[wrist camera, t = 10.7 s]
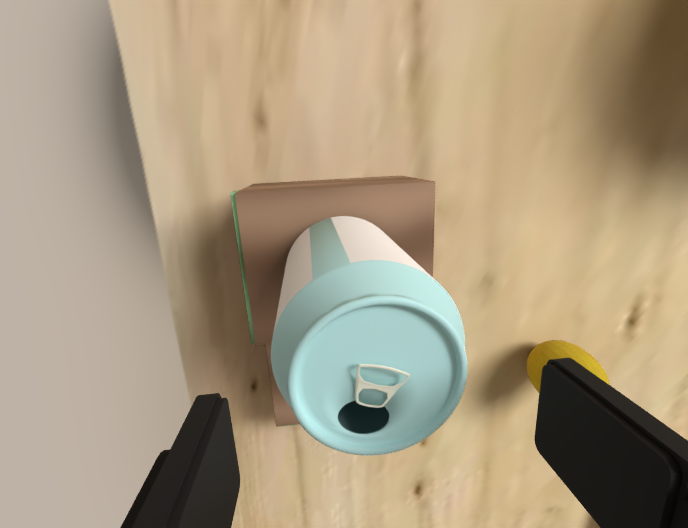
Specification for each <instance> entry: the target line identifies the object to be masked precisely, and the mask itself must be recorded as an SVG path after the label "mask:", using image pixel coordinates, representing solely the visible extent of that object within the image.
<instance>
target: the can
mask: <svg viewBox="0 0 688 528" xmlns="http://www.w3.org/2000/svg"><path fill="white" fill-rule="evenodd" d="M271 364H272V371H273V374H274V378H275V381H276V383H277V386H278V388H279V390H280V392H281V394H282V396H283V397H284V399H285V400H286V402H287V403H288V404H289V406H290V407H291V408H292V411H293V413H294V415H295V417H296V418H297V420H298V421H299V423H300V424H301V426H302V427H303V428H304V429H305V430H306V431H307V432H308V433H309V434H310V435H311V436H312V437H314V438H315V439H316V440H318V441H319V442H321V443H322V444H324V445H326V446H328V447H330V448H332V449H335V450H338V451H341V452H345V453H349V454H355V455H381V454H388V453H392V452H396V451H400V450H403V449H405V448H408V447H410V446H413V445H415V444H417V443H419V442H420V441H422V440H424V439H425V438H427V437H428V436H430V435H431V434H432V433H434V432H435V431H436V430H437V429H438V428H439V427H440V426H442V425H443V424H444V422H445V421H446V420H447V419H448V418H449V417H450V415H451V414H452V413H453V411H454V410H455V408H456V406H457V405H458V403H459V401H460V399H461V396H462V394H463V391H464V388H465V384H466V378H467V357H466V352H465V333H464V328H463V323H462V320H461V316H460V313H459V311H458V309H457V306H456V305H455V303H454V301H453V299H452V298H451V297H450V295H449V294H448V292H447V291H446V290H445V289H444V288H443V287H442V286H441V285H440V284H439V283H438V282H437V281H436V280H435V279H434V278H433V277H432V276H430V275H429V274H428V273H427V272H426V271H425V270H424V269H423V268H422V267H421V266H420V265H419V264H417V263H416V262H415V261H414V260H413V259H412V258H411V257H410V256H409V255H408V254H407V253H406V252H405V251H403V250H402V249H401V248H400V247H399V246H398V245H397V244H396V243H395V242H394V241H393V240H392V239H390V238H389V237H388V236H387V235H386V234H385V233H384V232H383V231H382V230H381V229H380V228H378V227H377V226H375V225H374V224H372V223H370V222H368V221H366V220H363V219H360V218H356V217H350V216H337V217H331V218H327V219H324V220H322V221H319V222H317V223H315V224H313V225H312V226H310V227H309V228H307V229H306V230H305V231H304V232H303V233H302V234H301V235H300V236H299V237H298V238H297V239H296V241H295V242H294V244H293V246H292V247H291V249H290V252H289V254H288V257H287V261H286V267H285V272H284V278H283V283H282V289H281V294H280V300H279V305H278V311H277V316H276V322H275V327H274V333H273V338H272V344H271Z"/></svg>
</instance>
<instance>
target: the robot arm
mask: <svg viewBox="0 0 688 528" xmlns="http://www.w3.org/2000/svg"><path fill="white" fill-rule="evenodd" d="M535 444H536V447H537V450H538V451H539V453H540V454H541V455H542V457H543V458H544V459H545V460H546V461H547V463H548V464H549V465H550V466H551V468H552V469H553V470H554V471H555V472H556V474H557V475H558V476H559V477H560V479H561V480H562V481H563V482H564V483H565V485H566V486H567V487H568V488H569V490H570V491H571V492H572V493H573V494H574V496H575V497H576V498H577V499H578V501H579V502H580V503H581V504H582V505H583V507H584V508H585V509H586V510H587V512H588V513H589V514H590V515H591V516H592V518H593V519H594V520H595V521H596V523H597V524H598V525H599V526H600V527H601V528H688V441H687V440H686V439H684V438H683V437H682V436H680V435H679V434H677V433H676V432H675V431H673V430H672V429H670V428H669V427H668V426H666V425H665V424H663V423H662V422H661V421H659V420H658V419H656V418H655V417H654V416H652V415H651V414H649V413H648V412H647V411H645V410H644V409H642V408H641V407H639V406H638V405H637V404H635V403H634V402H632V401H631V400H630V399H628V398H627V397H625V396H624V395H623V394H621V393H620V392H618V391H617V390H616V389H614V388H613V387H611V386H610V385H609V384H607V383H606V382H604V381H603V380H602V379H600V378H599V377H597V376H596V375H595V374H593V373H592V372H590V371H589V370H588V369H586V368H585V367H583V366H582V365H581V364H579V363H578V362H576V361H575V360H574V359H572V358H559V359H550V360H548V362H547V364H546V365H544V366H543V368H542V375H541V385H540V394H539V403H538V412H537V421H536V431H535ZM239 488H240V473H239V467H238V461H237V454H236V448H235V442H234V436H233V429H232V423H231V417H230V410H229V404H228V400H227V398H221V396H220V394H219V393H216V394H206V395H198V396H197V397H196V399H195V401H194V403H193V405H192V407H191V409H190V411H189V413H188V415H187V417H186V419H185V421H184V423H183V425H182V427H181V429H180V431H179V433H178V435H177V437H176V439H175V441H174V444H173V445H172V447H171V449H170V450H164V451H163V452H161V453H160V455H159V456H158V458H157V459H156V461H155V463H154V465H153V467H152V469H151V471H150V473H149V475H148V477H147V478H146V480H145V482H144V484H143V486H142V488H141V490H140V492H139V494H138V495H137V497H136V500H135V501H134V503H133V505H132V507H131V509H130V511H129V513H128V514H127V516H126V518H125V520H124V522H123V524H122V526H121V528H231V525H232V521H233V516H234V511H235V507H236V502H237V498H238V493H239Z"/></svg>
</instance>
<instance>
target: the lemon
mask: <svg viewBox="0 0 688 528" xmlns="http://www.w3.org/2000/svg"><path fill="white" fill-rule="evenodd" d="M559 358H572V359H574V360H575V361H576V362H578V363H579V364H581V365H582V366H583V367H585V368H586V369H588V370H589V371H590V372H592V373H593V374H595V375H596V376H597V377H599V378H600V379H602V380H603V381H604V382H606V383H607V384H609V380H608V377H607V374H606V372H605V371H604V369H603V368H602V367H601V365H600V364H599V363H598V362H597V361H596V359H595V358H594V357H592V356H591V355H590V354H589V353H587V352H586V351H585V350H583V349H582V348H580V347H578V346H576V345H574V344H571V343H568V342H565V341H557V340H552V341H546V342H543V343H541V344H539V345H537V346H536V347H535V348H534V349H533V350H532V351H531V353H530V354H529V356H528V359H527V372H528V376H529V379H530V381H531V382H532V384H533V385H534V387H535V388H536V390H537V391H538V392H539V393H540V385H541V375H542V368H543V366H544V365H546V364H547V362H548V360H550V359H559Z"/></svg>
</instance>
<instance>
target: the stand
mask: <svg viewBox="0 0 688 528" xmlns="http://www.w3.org/2000/svg"><path fill="white" fill-rule="evenodd" d="M230 194H231V201H232V208H233V215H234V222H235V230H236V237H237V244H238V251H239V258H240V265H241V272H242V280H243V287H244V294H245V301H246V308H247V315H248V322H249V329H250V337H251V344H255V346H262V345H266V351H267V359H268V367H269V375H270V383H271V391H272V398H273V406H274V414H275V422H276V426H286V425H294V424H300V423H299V421H298V420H297V418H296V417H295V415H294V413H293V411H292V408H291V407H290V406H289V404H288V403H287V402H286V400H285V399H284V397H283V396H282V394H281V392H280V390H279V388H278V386H277V383H276V381H275V378H274V374H273V371H272V364H271V344H272V338H273V333H274V327H275V322H276V316H277V311H278V305H279V300H280V294H281V289H282V283H283V278H284V272H285V267H286V261H287V257H288V254H289V252H290V249H291V247H292V246H293V244H294V242H295V241H296V239H297V238H298V237H299V236H300V235H301V234H302V233H303V232H304V231H305V230H306V229H307V228H309V227H310V226H312V225H313V224H315V223H317V222H319V221H322V220H324V219H327V218H331V217H337V216H350V217H356V218H360V219H363V220H366V221H368V222H370V223H372V224H374V225H375V226H377V227H378V228H380V229H381V230H382V231H383V232H384V233H385V234H386V235H387V236H388V237H389V238H390V239H392V240H393V241H394V242H395V243H396V244H397V245H398V246H399V247H400V248H401V249H402V250H403V251H405V252H406V253H407V254H408V255H409V256H410V257H411V258H412V259H413V260H414V261H415V262H416V263H417V264H419V265H420V266H421V267H422V268H423V269H424V270H425V271H426V272H427V273H428V274H429V275H430V276H432V277H433V247H434V210H435V182H434V181H429V180H423V179H417V178H411V177H406V176H387V177H369V178H351V179H334V180H316V181H298V182H280V183H262V184H253V185H251V186H249V187H246V188H244V189H242V190H240V191H234V192H232V193H230Z"/></svg>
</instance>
